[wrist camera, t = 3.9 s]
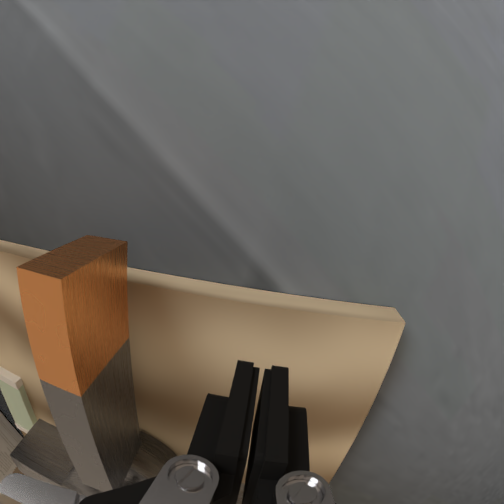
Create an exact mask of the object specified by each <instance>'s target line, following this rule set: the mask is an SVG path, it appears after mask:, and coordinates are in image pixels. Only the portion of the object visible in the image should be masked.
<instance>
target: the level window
mask: <svg viewBox="0 0 504 504" xmlns="http://www.w3.org/2000/svg"><path fill="white" fill-rule="evenodd" d="M0 389H1V391H2V394H3V396H4V398H5V401H6V403H7V405H8V408H9V410H10V412H11V414H12V416H13V418H14V421H15V425H16V427H17V428H18V429H20V430H21V431H23V432H25V433H28V431H29V430H30V429H31V428H32V427H33V425H34V424H35V423H36V422H37V419H36V416H35V414H34V411H33V409H32V407H31V404H30V401H29V399H28V396H27V393H26V391H25V388H24V385H23V382H22V379H21V377H19V376H17V375H15V374H13V373H11V372H9V371H8V370H6V369H4V368H2V367H1V366H0Z"/></svg>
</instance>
